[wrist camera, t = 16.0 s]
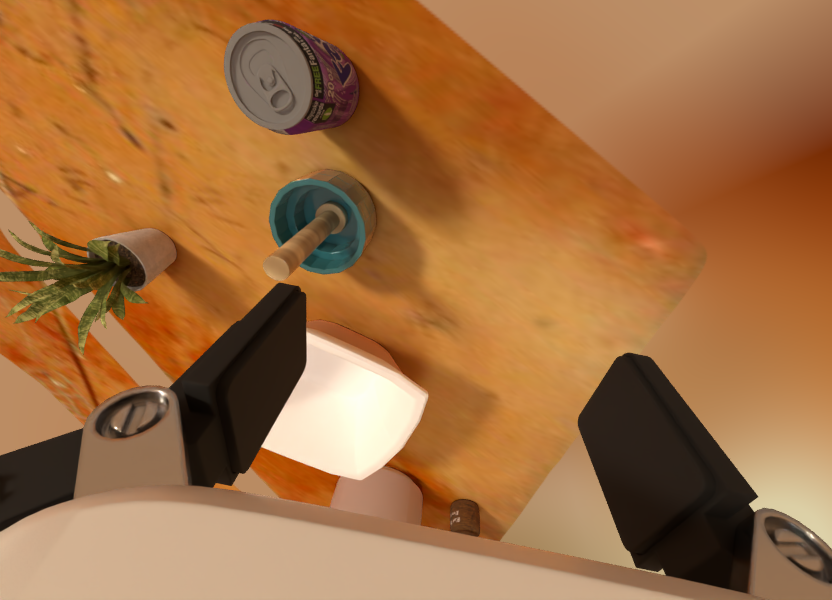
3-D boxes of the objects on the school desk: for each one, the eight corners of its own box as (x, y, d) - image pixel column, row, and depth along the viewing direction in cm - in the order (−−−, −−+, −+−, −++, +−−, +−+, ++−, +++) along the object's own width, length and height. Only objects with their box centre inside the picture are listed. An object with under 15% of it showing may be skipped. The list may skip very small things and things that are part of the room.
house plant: (110, 156, 39) (-84, 186, 25) (221, 226, 42) (103, 287, 28) (95, 246, 46) (-65, 309, 32) (191, 301, 49) (84, 380, 35)
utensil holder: (482, 501, 67) (486, 572, 57) (474, 516, 71) (478, 586, 60) (453, 496, 67) (453, 566, 57) (447, 511, 71) (446, 580, 60)
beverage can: (374, 105, 33) (337, 106, 23) (318, 140, 36) (262, 154, 25) (335, 25, 30) (274, -14, 20) (277, 68, 33) (195, 52, 22)
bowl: (287, 263, 44) (243, 304, 35) (448, 341, 48) (446, 397, 38) (250, 375, 55) (210, 428, 46) (382, 430, 59) (368, 489, 50)
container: (342, 504, 74) (324, 567, 64) (334, 455, 65) (312, 520, 55) (422, 515, 73) (416, 581, 62) (426, 466, 63) (420, 534, 53)
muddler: (318, 198, 38) (252, 243, 26) (349, 204, 38) (297, 252, 26) (318, 227, 40) (256, 283, 28) (347, 233, 40) (298, 292, 28)
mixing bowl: (291, 160, 37) (265, 169, 32) (382, 178, 37) (370, 190, 32) (294, 244, 42) (271, 264, 37) (373, 260, 42) (361, 282, 37)
